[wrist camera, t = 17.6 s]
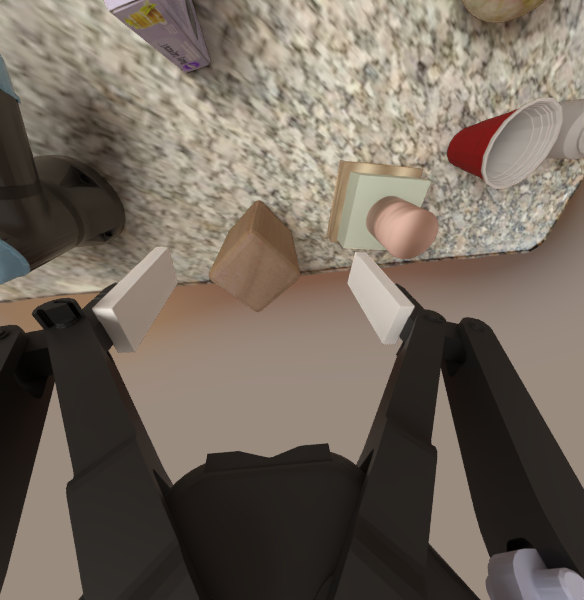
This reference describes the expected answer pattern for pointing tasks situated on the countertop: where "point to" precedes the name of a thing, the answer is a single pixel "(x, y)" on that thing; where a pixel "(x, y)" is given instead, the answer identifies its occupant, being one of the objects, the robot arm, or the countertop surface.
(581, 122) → the can
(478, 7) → the sugar bowl
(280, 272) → the block
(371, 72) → the countertop surface
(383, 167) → the tower base
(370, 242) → the tower top
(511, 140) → the plastic cup
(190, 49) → the cake pan box
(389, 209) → the pink rounded cylinder
